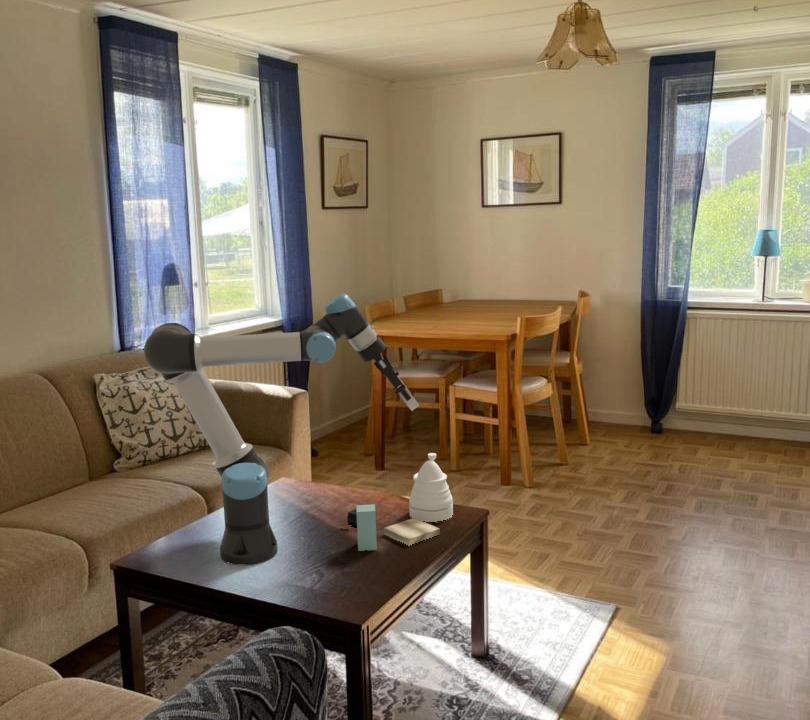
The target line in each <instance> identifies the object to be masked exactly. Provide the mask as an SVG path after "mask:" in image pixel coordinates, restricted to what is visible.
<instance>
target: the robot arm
mask: <svg viewBox="0 0 810 720" xmlns="http://www.w3.org/2000/svg"><path fill="white" fill-rule="evenodd" d="M324 310H325V311H324V312H325V314H324V316H323V317H321V318H320V319H318V320H316V321H315V322H314V323H312V325H310V326H309V327H307V328H306V329H304V330H302V331H296V332H278V333H275V332H274V333H261V334H259V333H258V334H240V335H239V334H238V335H220V336H219V335H218V336H204V337H203V336H200V335H199V334H197V333H193V332H192V331H191V329H189V327H187V326H186V325H184V324H182V323H179V322H173V321H172V322H167V323H166V322H165V323H163V324H161V325H158V326H157V327H155V328H154V330H153V331H152V332H151V334H150V335H149V336H148V337H147V339H146V340H145V343H144V346H143V356H144V359H145V361H146V363H147V364H148V366H149V367H150V368H151V369H152V370H153V371H156V372H158V373H160V374H161V376H162V377H163V379H164V381H166V382H168V383H171V384H173V385H174V387H175V388H176V390H177V391H178V393H179V395H180V397H181V399H182V400H183V402H184V403H185V405H186V407H187V409H188V411H189V412H190V414H191V416H192V418H193V419H194V421H195V422H196V424H197V427H198V428H199V430H200V431H201V433H202V435H203V437H204V438H205V440H206V441H207V443H208V446H209V447H210V449H211V451H212V452H213V454H214V456H215V458H216V459H215V463H214V467H215V469H216V470H217V472H218V475H219V476H220V478H221V481H220V486H221V489H222V503H223V516H224V518H223V519H224V531H223V535H222V538H221V539H222V540H221V543H220V547H219V553H220V554H219V555H220V559H221V560H222V561H223V560H224V561H223V562H225V561H226V562H225V563H227V562H229V563H228V564H231V563H232V564H231V565H237V564H247V565H255V564H258V563H263V562H266V561H268V560H270V559H272V558H274V557H275V556H276V555H277V554H278V541H277V538H276V536H275V534H274V531H273V529H272V525H271V523H270V515H269V510H270V509H269V500H268V499H269V496H268V483H269V482H268V479H269V471H268V470H269V469H268V466H267V464H266V462H265V460H264V459H263V458H262V457H261V456H259V455H258V453H257V452H256V450H255V448H254V446H253V444H252V443H247V442H245V441H244V440H243V438H242V436H241V434H240V433H239V430H238V429H237V427H236V426H235V424H234V421H233V419H232V418H231V416H230V415H229V413H228V411H227V409H226V407H225V405H224V404H223V403H222V400H221V398H220V396H219V395H218V393H217V391H216V389H215V388H214V386H213V384H212V383H211V381H210V379H209V377H208V376H207V374H206V371H205V370H204V368H206V367H220V366H222V367H223V366H237V365H238V366H239V365H254V364H255V365H256V364H269V363H270V364H272V363H284V362H285V363H286V362H287V363H288V362H302V361H303V362H304V361H306V362H307V361H313V362H315V363H320V364H322V363H326V362H328V361H330V360H332V358H333V357H334V356H335V353H336V348H337V345H336V344H337V343H336V341H338V340H339V339H341V338H342V337H343V336H344V337H345V338H346V340H347V341H348V343H349V344H350V345H351V346H352V349H354V351H357V354H358V356H359V357H360V358H361V359H362V361H363V362H365V363H368V362H371V361H372V360H373V361H374V362H373V365H374V366H375V368H376V369H377V370H378V371H380V373H381V374H382V375H383V377H386V378H387V380H388V381H389V382H390V384H391V385H392V386H393V387H394V389H395V392H394V394H395V395H399V397H400V398H401V399H402V400H403V402H404V403H405V404H406V406H407V407H408V409H409V410H410V411H411V412H413V411H414V410H415V409H417V408H418V407H419V406H420V404H419V403H418V401H417V400H416V398H415V397H414V396H413V394H412V393H411V391H410V390H409V388H408V387H407V386H406V385H405V383H404V382H403V380H402V379H401V378H400V377H399V375H400V373H399V372H398V371H395V370H394V367H393V366H392V364H391V363H390V359H388V357H387V356H386V354H384V355H382V353H383V352H384V351H385V349H386V344H385V343H384V341H383V339H381V337H380V336H378V334H377V331H375V330H374V329H375V326H374V325H373V324H372V325H371V324H370V323H369V322H368V319H366V317H365V316H364V315H363V313H362V311H361V310H360V309H359V308H358V306H357V305H356V303H355V302H354V301H353V300H352V299H351V297H350V296H349V295H348V294H346V293H341V294H338V295H337V296H335V297H333V298H332V299H331V300H330V301H329V302H328V303H326V305H325V306H324Z"/></svg>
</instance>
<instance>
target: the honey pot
mask: <svg viewBox="0 0 810 720" xmlns="http://www.w3.org/2000/svg"><path fill="white" fill-rule="evenodd" d="M427 458H428V459H429V460H427V461H425V462H424V463H423V464H422V465H421V467H420V468H419V471H418V472H417V473H415V474H413V476H412V479H413V480H414V484H413V486H412V488H411V489H412V490H411V491H410V492H411V495H409V499H408V500H409V517H410V516H411V517H412V518H416V519H418V520H421V521H425V523H426V522H436V523H438V522H437V521H442V522H444V521H443V520H446V521H448V520H450V519H452V517H453V516H454V504H453V503H454V502H453V495H452V494H451V490H450V487H449V484H448V483H447V478H448V475H447V474H446V473H444V472H443V471H442V470H441V468H440V466H439V465H438V464H437V463H436V462H435V460H436V459H437V453H435V452H429V453H428V454H427ZM452 515H453V516H452ZM411 517H410V518H411ZM412 518H411V519H412ZM449 518H450V519H449ZM447 519H448V520H447Z"/></svg>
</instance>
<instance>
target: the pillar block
mask: <svg viewBox="0 0 810 720" xmlns="http://www.w3.org/2000/svg"><path fill="white" fill-rule="evenodd" d="M355 509H356V510H357V530H356V533H357V551H358V552H362V551H363V552H364V551H365V550H367V551H378V544H377V518H376V517H377V516H376V515H377V514H376V504H374V503H371V504H357V505H356V508H355ZM365 552H366V551H365Z"/></svg>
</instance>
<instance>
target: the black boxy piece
mask: <svg viewBox="0 0 810 720" xmlns="http://www.w3.org/2000/svg"><path fill="white" fill-rule="evenodd" d="M347 524H348V525H352V526H351V527H354V528H357V510H356V508H355V509H352V510H350V511H348V512H347Z"/></svg>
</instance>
